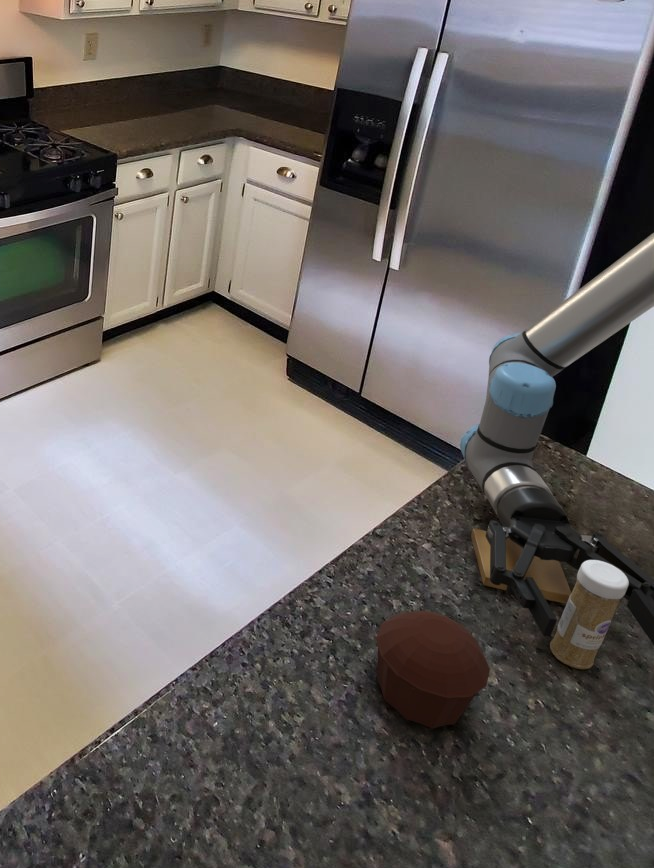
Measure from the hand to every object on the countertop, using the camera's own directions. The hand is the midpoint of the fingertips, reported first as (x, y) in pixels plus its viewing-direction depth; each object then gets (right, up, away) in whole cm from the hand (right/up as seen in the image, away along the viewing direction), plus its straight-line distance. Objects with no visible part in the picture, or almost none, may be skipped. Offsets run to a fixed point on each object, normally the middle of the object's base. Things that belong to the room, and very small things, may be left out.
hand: (607, 635), depth 90 cm
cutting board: (+3, +1, +20) cm, 20 cm away
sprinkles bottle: (+1, -6, +7) cm, 9 cm away
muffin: (-20, -8, +2) cm, 22 cm away
